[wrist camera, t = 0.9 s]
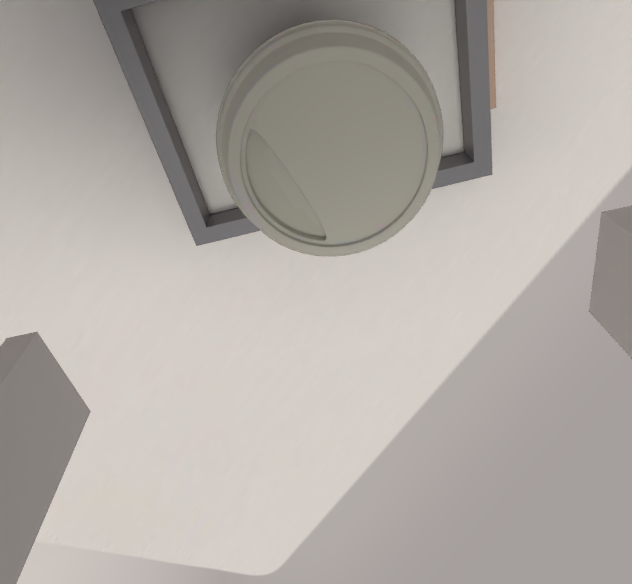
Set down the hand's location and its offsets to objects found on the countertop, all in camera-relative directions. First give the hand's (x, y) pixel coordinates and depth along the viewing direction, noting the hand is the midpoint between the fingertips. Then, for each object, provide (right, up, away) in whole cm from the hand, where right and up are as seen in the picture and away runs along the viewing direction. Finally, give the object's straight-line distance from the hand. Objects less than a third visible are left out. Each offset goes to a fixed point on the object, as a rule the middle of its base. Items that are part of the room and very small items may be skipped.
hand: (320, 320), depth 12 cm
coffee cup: (0, +12, +16) cm, 20 cm away
